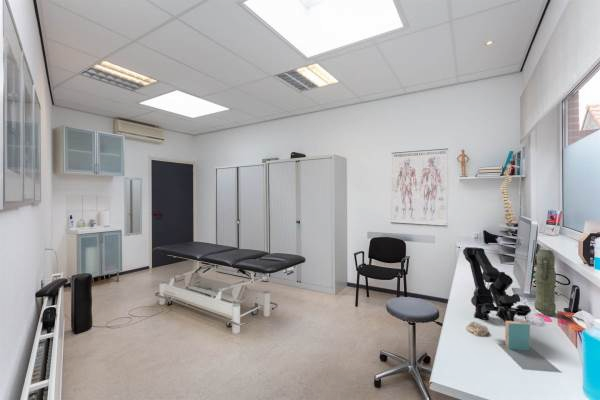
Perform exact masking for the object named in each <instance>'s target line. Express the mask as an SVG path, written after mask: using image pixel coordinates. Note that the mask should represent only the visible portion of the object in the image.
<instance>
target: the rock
mask: <svg viewBox="0 0 600 400" xmlns="http://www.w3.org/2000/svg"><path fill="white" fill-rule="evenodd" d="M465 330H466V332H468V333H470V334H471V335H473V336H475V337H480V336H482V337H484V336H487V335H488V334H490V330H489V328H488V326H487V325H484V324H482V323H480V322H477V321H473V320H472V321H470V323H469V324H468V325H466V326H465Z"/></svg>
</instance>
